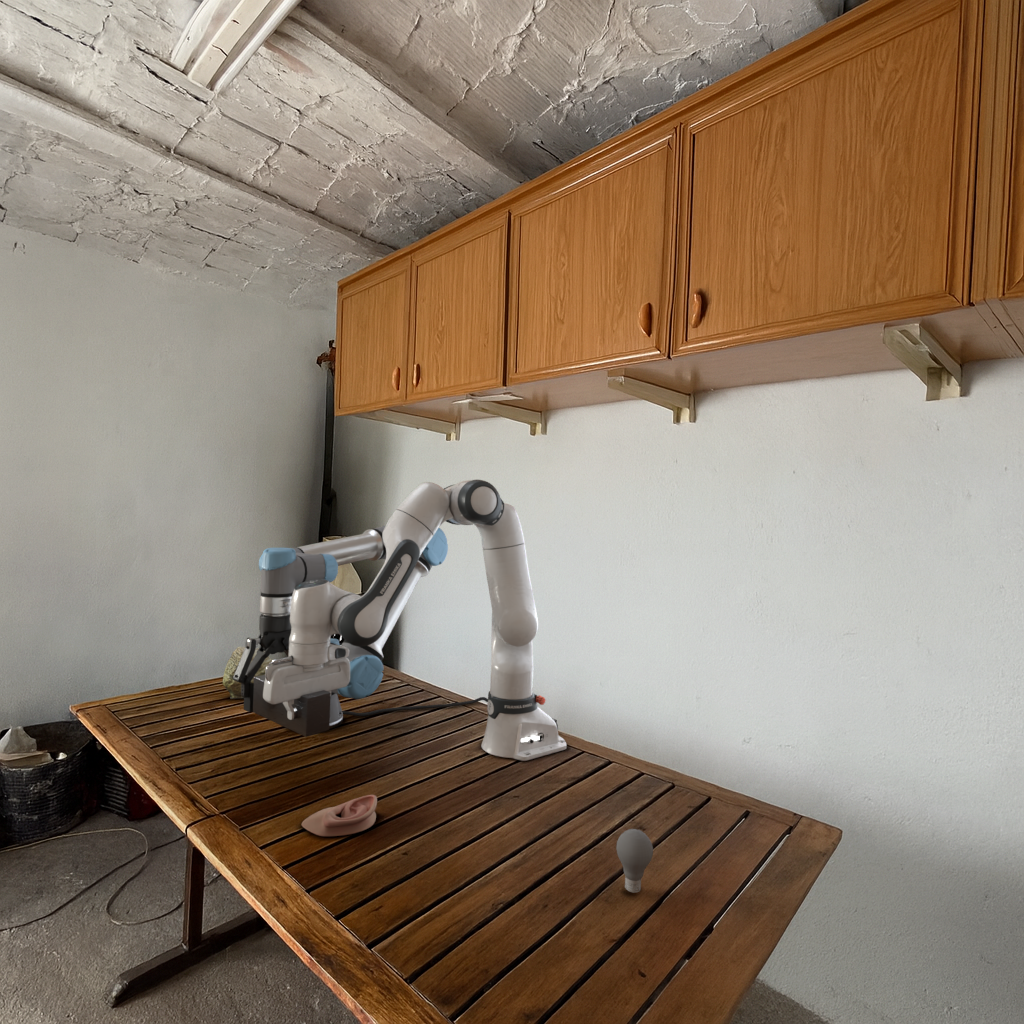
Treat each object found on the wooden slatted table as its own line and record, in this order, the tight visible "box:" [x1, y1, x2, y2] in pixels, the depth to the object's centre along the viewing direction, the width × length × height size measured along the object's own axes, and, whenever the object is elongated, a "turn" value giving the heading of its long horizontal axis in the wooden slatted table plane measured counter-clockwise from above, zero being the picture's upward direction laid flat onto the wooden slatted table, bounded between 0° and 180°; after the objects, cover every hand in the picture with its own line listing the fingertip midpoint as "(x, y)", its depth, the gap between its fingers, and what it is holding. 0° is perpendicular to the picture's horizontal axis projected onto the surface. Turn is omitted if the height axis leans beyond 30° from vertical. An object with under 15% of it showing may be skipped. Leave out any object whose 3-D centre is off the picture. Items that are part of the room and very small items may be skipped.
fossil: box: [222, 646, 273, 699], centre depth 198 cm, size 9×18×15 cm, turn 132°
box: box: [252, 675, 331, 738], centre depth 145 cm, size 22×6×8 cm, turn 51°
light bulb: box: [615, 828, 654, 894], centre depth 106 cm, size 6×6×10 cm
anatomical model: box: [301, 794, 378, 837], centre depth 123 cm, size 13×4×12 cm
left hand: (273, 704), depth 150 cm, fingers open, 12 cm apart
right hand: (307, 714), depth 141 cm, fingers closed on box, 6 cm apart
